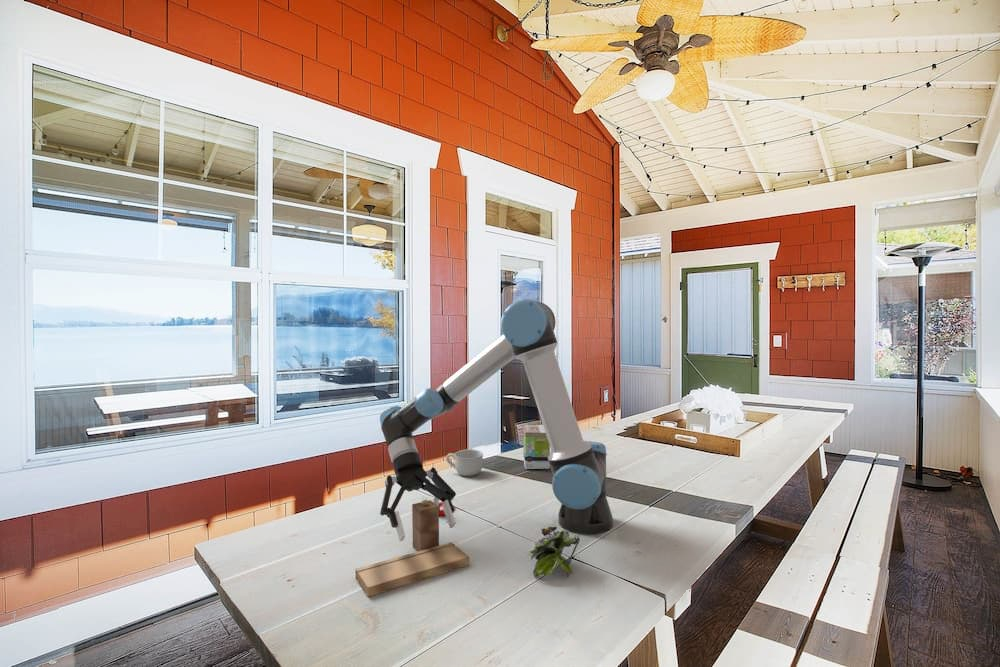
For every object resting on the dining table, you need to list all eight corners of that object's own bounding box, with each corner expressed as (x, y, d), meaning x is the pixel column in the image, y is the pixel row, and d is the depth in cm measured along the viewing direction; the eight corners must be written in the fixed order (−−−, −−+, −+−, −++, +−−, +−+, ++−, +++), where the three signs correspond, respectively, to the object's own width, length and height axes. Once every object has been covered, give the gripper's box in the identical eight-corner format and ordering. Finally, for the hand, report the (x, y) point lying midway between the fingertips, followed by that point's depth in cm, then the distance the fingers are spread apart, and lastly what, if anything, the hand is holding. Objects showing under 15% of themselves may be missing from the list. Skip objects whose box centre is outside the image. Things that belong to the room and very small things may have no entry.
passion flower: (548, 585, 114) (564, 534, 120) (581, 597, 106) (596, 541, 111) (514, 568, 110) (532, 516, 115) (546, 579, 101) (563, 522, 107)
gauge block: (430, 542, 126) (430, 496, 125) (439, 549, 121) (438, 502, 121) (412, 547, 123) (412, 500, 123) (420, 555, 119) (420, 506, 118)
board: (451, 550, 121) (451, 541, 121) (469, 564, 113) (469, 556, 113) (355, 577, 108) (355, 568, 108) (368, 596, 101) (367, 586, 100)
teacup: (487, 471, 186) (487, 450, 186) (476, 479, 176) (476, 458, 175) (454, 467, 190) (453, 447, 190) (442, 476, 180) (441, 454, 180)
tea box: (550, 470, 186) (550, 432, 186) (524, 470, 187) (524, 432, 186) (547, 459, 201) (547, 423, 201) (523, 459, 202) (522, 424, 201)
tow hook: (430, 505, 153) (421, 515, 144) (430, 463, 153) (421, 471, 144) (456, 506, 151) (448, 516, 142) (456, 465, 152) (449, 472, 143)
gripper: (442, 458, 142) (467, 527, 129) (357, 473, 128) (376, 551, 116) (450, 444, 137) (477, 514, 125) (362, 457, 124) (383, 537, 111)
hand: (428, 532), depth 120 cm, fingers open, 13 cm apart
